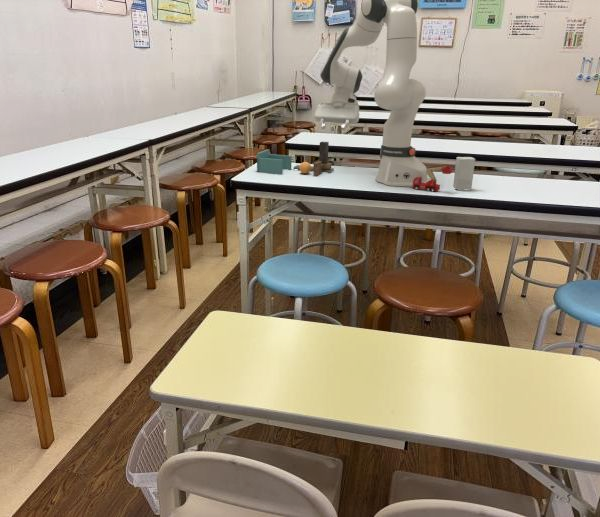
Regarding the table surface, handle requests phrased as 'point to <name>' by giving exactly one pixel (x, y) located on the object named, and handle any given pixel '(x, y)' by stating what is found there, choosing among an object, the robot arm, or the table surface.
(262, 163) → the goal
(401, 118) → the robot arm
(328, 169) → the kicker rail
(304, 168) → the ball
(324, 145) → the slide kicker
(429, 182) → the toy fire truck
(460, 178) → the skincare box
